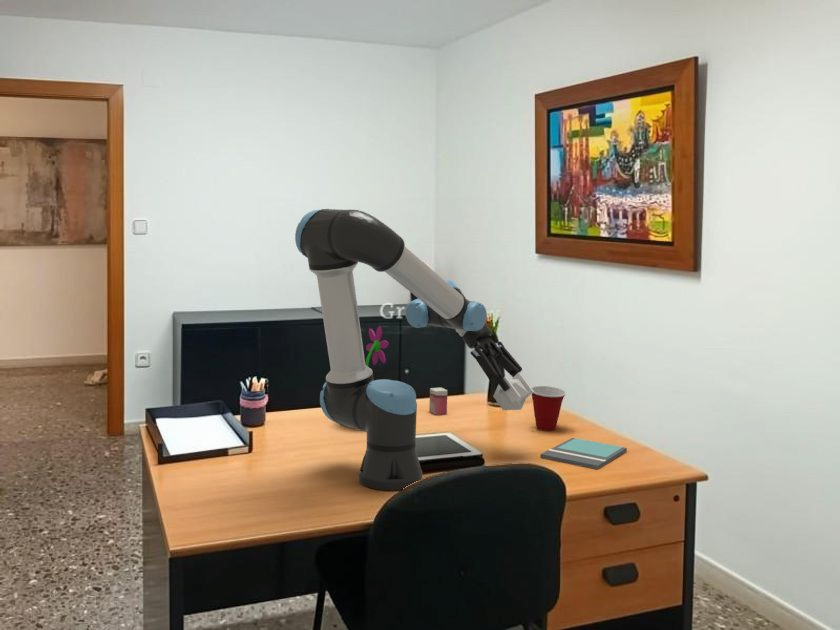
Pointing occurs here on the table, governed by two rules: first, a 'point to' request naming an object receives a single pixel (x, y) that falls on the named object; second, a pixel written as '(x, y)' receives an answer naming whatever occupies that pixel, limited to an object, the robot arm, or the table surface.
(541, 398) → the plastic cup
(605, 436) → the table surface
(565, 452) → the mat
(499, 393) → the die
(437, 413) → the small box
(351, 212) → the robot arm
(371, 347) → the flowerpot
